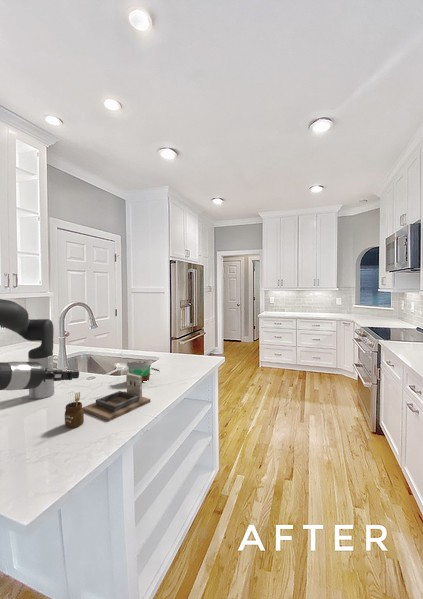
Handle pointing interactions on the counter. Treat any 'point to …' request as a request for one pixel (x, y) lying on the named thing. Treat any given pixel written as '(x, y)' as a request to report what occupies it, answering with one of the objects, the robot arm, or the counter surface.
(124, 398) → the charging dock
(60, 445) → the counter surface
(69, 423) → the utensil holder
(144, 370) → the food container
